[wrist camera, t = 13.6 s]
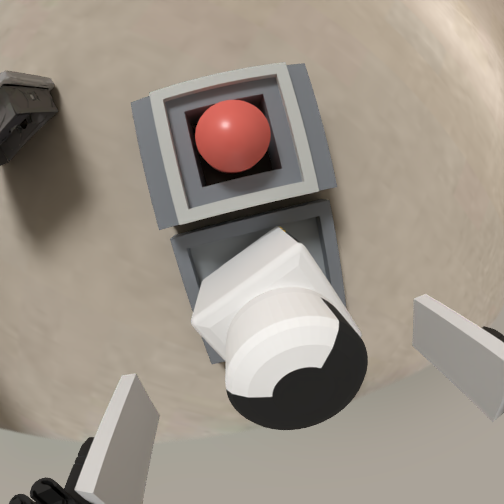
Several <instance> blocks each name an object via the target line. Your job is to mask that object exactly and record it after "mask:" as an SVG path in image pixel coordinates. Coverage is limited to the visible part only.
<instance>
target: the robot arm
mask: <svg viewBox="0 0 504 504" xmlns="http://www.w3.org/2000/svg"><path fill="white" fill-rule="evenodd" d="M412 346H413V347H414V348H415V349H417V350H418V351H419V352H420V353H421V354H422V355H423V356H424V357H425V358H426V359H427V360H429V361H430V362H431V363H432V364H433V365H434V366H435V367H436V368H437V369H438V370H439V371H440V372H442V373H443V374H444V375H445V376H446V377H447V378H448V379H449V380H450V381H451V382H452V383H453V384H454V385H455V386H456V387H457V388H458V389H459V390H460V391H461V392H463V393H464V394H465V395H466V396H467V397H468V398H469V399H470V400H471V401H472V402H473V403H474V404H475V405H476V406H477V407H478V408H479V409H480V410H481V411H482V412H483V413H484V414H485V415H486V416H487V417H488V418H489V419H490V420H491V421H492V422H493V421H494V420H496V419H497V418H498V417H499V416H500V415H502V414H503V413H504V336H503V335H502V334H501V333H499V332H498V331H496V330H494V329H491V328H488V327H485V326H484V327H483V328H481V327H479V326H477V325H476V324H474V323H473V322H471V321H470V320H468V319H466V318H465V317H463V316H462V315H460V314H458V313H457V312H455V311H454V310H452V309H450V308H449V307H447V306H445V305H444V304H442V303H440V302H439V301H437V300H435V299H434V298H432V297H430V296H429V295H427V294H424V295H421V296H419V297H417V298H414V320H413V344H412ZM159 416H160V415H159V413H158V412H157V410H156V408H155V407H154V405H153V403H152V401H151V400H150V398H149V396H148V394H147V393H146V391H145V389H144V387H143V385H142V383H141V382H140V380H139V378H138V376H137V374H136V373H135V374H128V375H122V376H121V379H120V381H119V383H118V385H117V387H116V389H115V392H114V394H113V396H112V398H111V400H110V403H109V405H108V407H107V409H106V412H105V414H104V416H103V419H102V421H101V423H100V426H99V428H98V430H97V433H96V435H95V438H93V437H89V438H88V439H87V440H86V441H85V443H84V444H83V445H82V446H81V448H80V451H79V453H78V457H77V458H76V460H75V464H74V465H73V468H72V470H71V473H70V475H69V478H68V480H67V483H66V485H65V488H64V489H63V488H62V487H61V486H60V485H59V484H58V483H57V482H55V481H54V480H53V479H51V478H42V479H39V480H38V481H36V482H35V483H34V484H33V486H32V488H31V491H30V497H31V498H32V499H33V500H34V501H36V502H34V501H32V500H31V499H30V498H29V497H28V496H26V495H24V494H18V495H15V496H14V497H13V498H12V499H11V501H10V503H9V504H142V503H143V497H144V491H145V486H146V480H147V474H148V469H149V464H150V459H151V454H152V449H153V444H154V439H155V435H156V430H157V425H158V421H159Z"/></svg>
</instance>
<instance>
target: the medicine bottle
mask: <svg viewBox="0 0 504 504" xmlns="http://www.w3.org/2000/svg"><path fill="white" fill-rule="evenodd" d="M191 324H192V326H193V327H194V329H195V330H196V331H197V332H198V333H199V334H200V335H201V336H202V337H203V338H204V339H205V341H206V342H207V343H208V344H209V345H210V346H211V347H212V348H213V349H214V350H215V351H216V352H217V353H218V354H219V355H220V356H221V357H222V358H223V359H224V360H225V361H226V372H225V382H226V391H227V395H228V398H229V400H230V402H231V404H232V405H233V406H234V408H235V409H236V410H237V411H238V412H239V413H240V414H241V415H242V416H244V417H245V418H246V419H248V420H250V421H252V422H254V423H256V424H258V425H261V426H263V427H267V428H271V429H278V430H294V429H301V428H306V427H310V426H313V425H316V424H319V423H321V422H323V421H325V420H327V419H329V418H331V417H333V416H334V415H336V414H337V413H338V412H340V411H341V410H342V409H344V408H345V407H346V406H347V405H348V404H349V403H350V402H351V400H352V399H353V398H354V397H355V395H356V394H357V392H358V391H359V389H360V386H361V384H362V382H363V380H364V377H365V374H366V371H367V364H368V357H367V351H366V347H365V345H364V342H363V341H362V339H361V337H362V335H361V331H360V330H359V328H358V326H357V325H356V323H355V322H354V320H353V318H352V317H351V315H350V314H349V312H348V311H347V309H346V307H345V306H344V304H343V303H342V301H341V300H340V298H339V297H338V295H337V293H336V292H335V290H334V289H333V287H332V286H331V284H330V283H329V281H328V280H327V278H326V277H325V275H324V274H323V272H322V271H321V269H320V268H319V266H318V265H317V263H316V262H315V260H314V259H313V257H312V256H311V254H310V253H309V251H308V250H307V248H306V247H305V246H304V245H303V244H302V243H301V242H299V241H298V240H297V239H296V238H294V237H293V236H292V235H291V234H289V233H288V232H287V231H285V230H284V229H283V228H281V227H280V226H276V227H274V228H273V229H272V230H270V231H269V232H267V233H266V234H265V235H263V236H262V237H261V238H259V239H258V240H257V241H255V242H254V243H252V244H251V245H250V246H248V247H247V248H246V249H244V250H243V251H242V252H240V253H239V254H237V255H236V256H235V257H233V258H232V259H231V260H229V261H228V262H227V263H225V264H224V265H222V266H221V267H220V268H218V269H217V270H216V271H214V272H213V273H212V274H210V275H209V276H208V277H206V278H205V279H204V280H203V281H202V283H201V287H200V290H199V294H198V297H197V301H196V304H195V308H194V311H193V315H192V319H191Z"/></svg>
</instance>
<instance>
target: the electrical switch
mask: <svg viewBox="0 0 504 504" xmlns="http://www.w3.org/2000/svg"><path fill="white" fill-rule="evenodd" d="M53 87H54V83H53V81H52V80H51V78H47V77H42V76H37V75H31V74H25V73H18V72H12V71H4V72H2V73H0V166H1V165H3V164H6V163H8V160H9V161H10V160H11V159H12V158H13V157H14V155H15V154H16V153H17V152H18V151H19V150H20V149H21V148H22V147H23V145H24V144H25V143H26V142H27V141H28V140H29V139H30V138H31V137H32V136H33V135H34V134H35V133H36V132H37V131H38V130H39V129H40V128H41V127H42V126H43V125H44V124H45V123H46V122H47V121H48V120H49V119H51V118H52V117H53V116H54V115H55V114H56V113H57V112H58V110H57V108H56V106H55V104H54V103H53V99H52V96H51V95H50V93H49V91H50V90H51V89H52V88H53ZM30 116H31V119H32V122H33V123H32V122H31V120H30ZM45 117H46V118H45ZM25 118H26V120H27V123H28V125H27V127H26V128H25V129H23V128H22V127H21V126H20V124H21V122H22V121H23V120H24V119H25ZM38 123H39V124H38ZM14 128H18V130H19V131H18V130H17V129H14ZM20 133H21V134H20ZM2 142H3V143H2ZM5 155H6V156H5ZM6 157H7V158H6ZM7 159H8V160H7Z"/></svg>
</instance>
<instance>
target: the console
mask: <svg viewBox="0 0 504 504" xmlns="http://www.w3.org/2000/svg"><path fill="white" fill-rule="evenodd" d="M149 95H150V96H148V97H145V98H142V99H139V100H136V101H134V102H131V107H132V113H133V118H134V124H135V129H136V134H137V139H138V144H139V149H140V154H141V158H142V163H143V167H144V172H145V176H146V180H147V184H148V189H149V193H150V197H151V201H152V205H153V208H154V212H155V216H156V220H157V223H158V227H159V230H161V229H165V228H168V227H172V226H176V225H182V224H186V223H189V222H193V221H197V220H201V219H205V218H208V217H212V216H216V215H220V214H224V213H228V212H232V211H236V210H240V209H244V208H248V207H252V206H257V205H261V204H265V203H269V202H274V201H278V200H282V199H287V198H291V197H296V196H300V195H305V194H309V193H314V192H319V191H320V190H325V189H330V188H334V187H337V184H336V179H335V174H334V169H333V165H332V161H331V156H330V152H329V148H328V144H327V140H326V136H325V132H324V128H323V124H322V120H321V117H320V113H319V109H318V106H317V102H316V99H315V95H314V92H313V89H312V85H311V82H310V79H309V76H308V72H307V69H306V66H305V63H304V64H293V65H286V63H285V62H282V63H274V64H267V65H260V66H254V67H248V68H242V69H237V70H232V71H227V72H222V73H218V74H213V75H209V76H205V77H201V78H197V79H193V80H189V81H185V82H182V83H178V84H175V85H171V86H168V87H165V88H162V89H159V90H155V91H152V92H149ZM226 100H241V101H245V102H248V103H250V104H252V105H254V106H255V107H257V108H258V109H259V110H260V111H261V112H262V113H263V114H264V116H265V117H266V119H267V121H268V123H269V126H270V133H271V137H270V143H269V147H268V153H269V157H270V161H271V166H272V170H273V171H268V172H264V173H259V174H255V175H250V176H246V177H242V178H238V179H234V180H229V181H225V182H221V183H217V184H214V185H210V186H207V185H206V181H205V177H204V173H203V169H202V165H201V161H200V157H199V152H198V148H197V145H196V140H195V135H194V131H193V127H192V125H193V124H196V123H198V121H199V119H200V118H201V116H202V115H203V114H204V112H205V111H206V110H207V109H209V108H210V107H211V106H213V105H215V104H217V103H219V102H222V101H226ZM276 226H280V227H281V228H283V229H284V230H285V231H287V232H288V233H289V234H291V235H292V236H293V237H294V238H296V239H297V240H298V241H299V242H301V243H302V244H303V245H304V246H305V247H306V248H307V250H308V251H309V253H310V254H311V256H312V257H313V259H314V260H315V262H316V263H317V265H318V266H319V268H320V269H321V271H322V272H323V274H324V275H325V277H326V278H327V280H328V281H329V283H330V284H331V286H332V287H333V289H334V290H335V292H336V293H337V295H338V297H339V298H340V300H341V301H342V303H343V304H344V306H345V307H346V302H345V294H344V286H343V278H342V271H341V264H340V258H339V251H338V245H337V239H336V233H335V227H334V222H333V216H332V211H331V206H330V201H329V200H326V199H320V200H315V201H311V202H306V203H302V204H297V205H293V206H288V207H284V208H280V209H276V210H271V211H267V212H263V213H259V214H255V215H250V216H246V217H242V218H238V219H234V220H230V221H226V222H222V223H218V224H214V225H211V226H207V227H203V228H199V229H195V230H191V231H188V232H184V233H180V234H176V235H174V236H173V237H172V238H171V239H170V240H171V243H172V247H173V250H174V254H175V257H176V260H177V264H178V267H179V270H180V274H181V277H182V280H183V283H184V286H185V289H186V292H187V296H188V299H189V302H190V305H191V308H192V311H194V308H195V304H196V301H197V297H198V294H199V290H200V287H201V283H202V281H203V280H204V279H205V278H206V277H208V276H209V275H210V274H212V273H213V272H214V271H216V270H217V269H218V268H220V267H221V266H222V265H224V264H225V263H227V262H228V261H229V260H231V259H232V258H233V257H235V256H236V255H237V254H239V253H240V252H242V251H243V250H244V249H246V248H247V247H248V246H250V245H251V244H252V243H254V242H255V241H257V240H258V239H259V238H261V237H262V236H263V235H265V234H266V233H267V232H269V231H270V230H272V229H273V228H274V227H276ZM202 339H203V342H204V345H205V347H206V350H207V353H208V356H209V358H210V361H211V363H212V364H215V363H220V362H225V360H224V359H223V358H222V357H221V356H220V355H219V354H218V353H217V352H216V351H215V350H214V349H213V348H212V347H211V346H210V345H209V344H208V343H207V342H206V341H205V339H204V338H203V337H202Z"/></svg>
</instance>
